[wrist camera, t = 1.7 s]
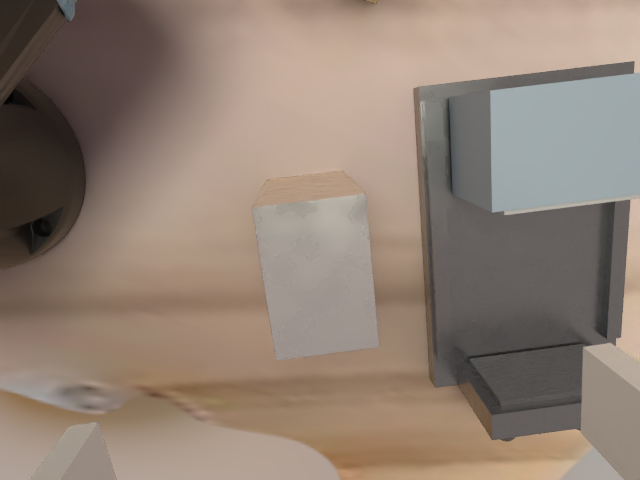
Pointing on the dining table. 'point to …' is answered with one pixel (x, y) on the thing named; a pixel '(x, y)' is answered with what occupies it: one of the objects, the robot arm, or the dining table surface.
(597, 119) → the block
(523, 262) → the vise body
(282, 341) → the steel block
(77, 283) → the dining table surface
